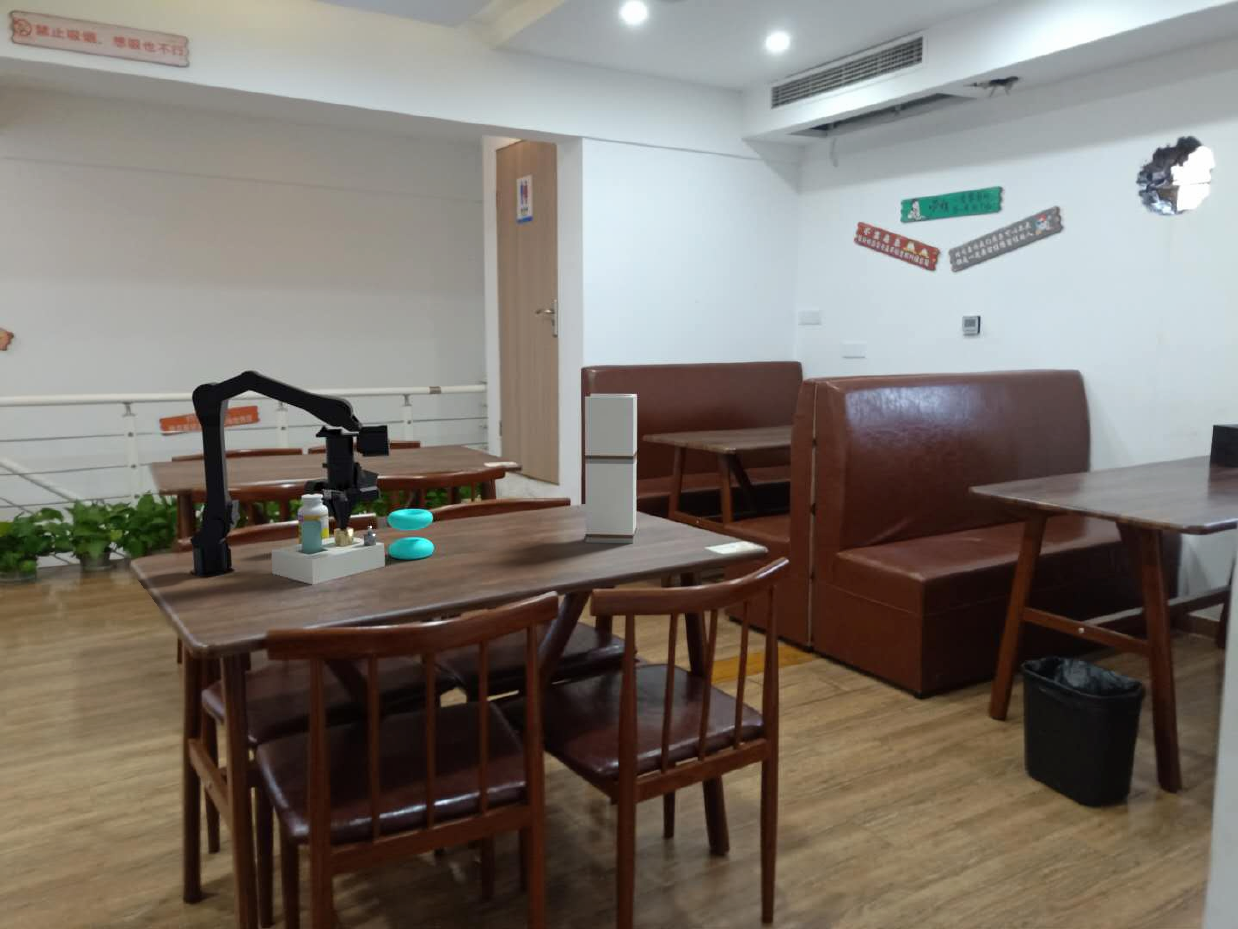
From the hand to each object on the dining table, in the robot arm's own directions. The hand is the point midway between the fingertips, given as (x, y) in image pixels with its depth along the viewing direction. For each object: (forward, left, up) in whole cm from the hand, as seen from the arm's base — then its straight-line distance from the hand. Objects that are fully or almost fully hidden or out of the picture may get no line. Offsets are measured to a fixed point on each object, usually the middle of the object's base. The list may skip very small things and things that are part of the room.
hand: (343, 529), depth 196 cm
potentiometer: (+3, -6, -3) cm, 7 cm away
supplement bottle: (+5, +18, -8) cm, 20 cm away
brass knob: (0, 0, -7) cm, 7 cm away
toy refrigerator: (+56, -30, -8) cm, 64 cm away
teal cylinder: (-8, 0, -4) cm, 9 cm away
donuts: (+15, -4, -8) cm, 18 cm away
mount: (-4, 0, -8) cm, 9 cm away
